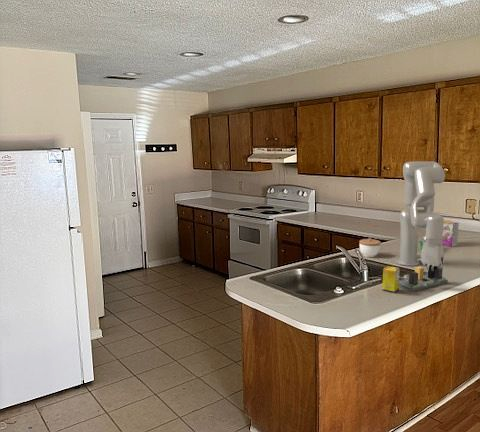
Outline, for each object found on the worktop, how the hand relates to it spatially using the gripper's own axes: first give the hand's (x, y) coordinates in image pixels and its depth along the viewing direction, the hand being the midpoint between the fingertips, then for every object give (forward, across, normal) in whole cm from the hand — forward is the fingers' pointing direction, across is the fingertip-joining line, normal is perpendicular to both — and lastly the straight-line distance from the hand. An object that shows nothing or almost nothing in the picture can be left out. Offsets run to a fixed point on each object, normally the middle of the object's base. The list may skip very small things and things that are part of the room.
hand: (431, 278), depth 215 cm
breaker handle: (+3, -7, 0) cm, 8 cm away
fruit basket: (+4, -47, +59) cm, 76 cm away
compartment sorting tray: (+5, -7, 0) cm, 9 cm away
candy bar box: (+4, -49, +81) cm, 95 cm away
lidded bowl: (+4, -57, +17) cm, 60 cm away
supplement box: (+5, -7, -20) cm, 22 cm away
